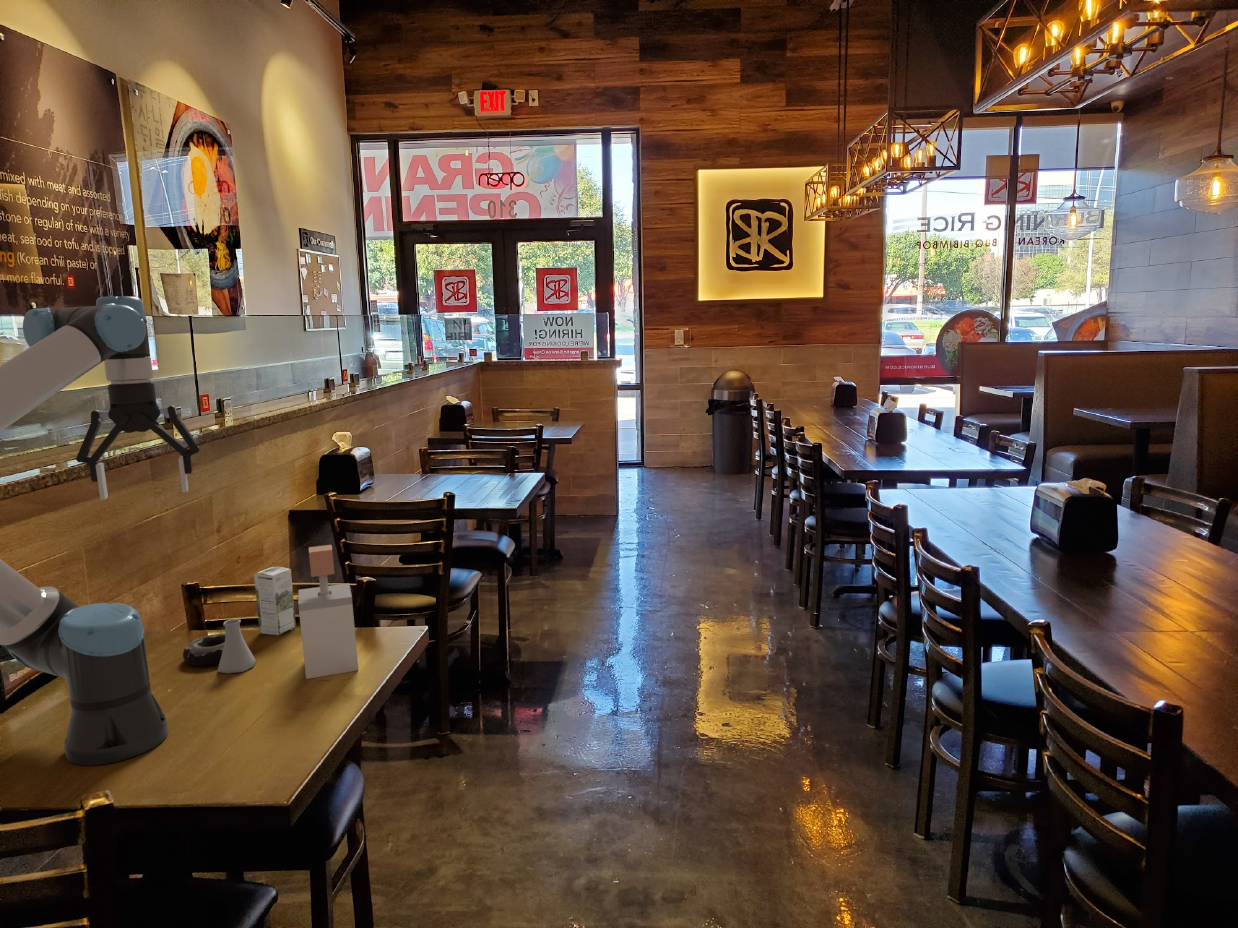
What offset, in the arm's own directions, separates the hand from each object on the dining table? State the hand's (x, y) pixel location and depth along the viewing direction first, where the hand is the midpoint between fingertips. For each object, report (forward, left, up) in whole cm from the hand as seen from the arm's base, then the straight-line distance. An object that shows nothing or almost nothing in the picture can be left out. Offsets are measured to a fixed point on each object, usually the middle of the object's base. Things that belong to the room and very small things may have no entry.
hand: (145, 494), depth 161 cm
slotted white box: (+18, -24, -39) cm, 49 cm away
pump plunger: (+18, -24, -34) cm, 45 cm away
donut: (+15, +4, -39) cm, 42 cm away
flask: (+12, -5, -39) cm, 41 cm away
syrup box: (+32, +2, -39) cm, 50 cm away
